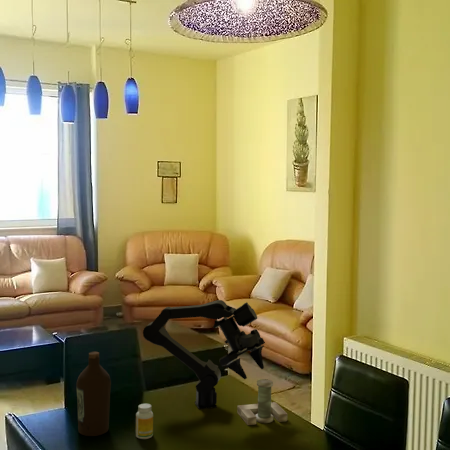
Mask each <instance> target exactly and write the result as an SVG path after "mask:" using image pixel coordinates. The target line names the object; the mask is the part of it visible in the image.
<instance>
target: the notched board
mask: <svg viewBox="0 0 450 450" xmlns="http://www.w3.org/2000/svg"><path fill="white" fill-rule="evenodd" d="M236 406H237V408H236V410H237V412H236V413H237V414H238V415H239V417H240V418H241V419H242V420H243V421H244V422H245V424H246V426H253V425H257V421H256V416H255V415H256V414H258V403H252V404H251V403H250V404H241V405H239V404H238V405H236ZM271 414H272V415H273V418H274V419H275V420H276V421H278V423H283V422H287V421H288V413H287V411H285V410H284V409H283V408H282V406H280V405H279V404H278V403H277V402H276V401H273V402H272V401H271Z"/></svg>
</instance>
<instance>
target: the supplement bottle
mask: <svg viewBox="0 0 450 450" xmlns="http://www.w3.org/2000/svg"><path fill="white" fill-rule="evenodd" d="M137 407H138V409H137V412H136V413H135V437H136V438H138V439H140V440H148V439H150V438H152V437H153V435H154V413H153V411H152V404H150V403H141V404H139V405H138V406H137Z"/></svg>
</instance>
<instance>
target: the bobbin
mask: <svg viewBox="0 0 450 450" xmlns="http://www.w3.org/2000/svg"><path fill="white" fill-rule="evenodd" d="M256 386H257V393H258V394H257V404H258V414H256V415H255V416H256V423H260V424H268V423H273V421H274V416H273V415H272V414H271V402H272V387H273V386H274V381H273V380H271V379H270V378H268V379H267V378H261V379H257V380H256Z"/></svg>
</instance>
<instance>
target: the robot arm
mask: <svg viewBox="0 0 450 450" xmlns="http://www.w3.org/2000/svg"><path fill="white" fill-rule="evenodd" d="M186 318H188V319H189V318H206V319H210V320H214V323H213V327H212V328H213V329H217V328H220V331H221V332H222V334H223V336H224V337H225V339H226V340H224V343H225V345H226V344H227V345H229V347H230V349H231V351H230V352H228V353H227V354H225V355H223V356H221V357H219V364H220V366H221V367H225V368H228V369H229V370H231V371H233V372H234V373H235V374H237V375H238V376H239V377H241V378H242V379H243V380H246V379H248V377H247V375H246V372H245V371H244V368H243V365H241V358H238V357H240V356H241V355H243V354H245V353H247V352H249V356H250V357H251V358H252V360H253V361H254V363H256V365H257V367H259V368H260V369H261V370H264V369H265V366H264V361H263V355H262V354H263V353H262V350H263V348H264V345H265V344H266V341H265V340H264V338H263V337H261V334H260V332H259V331H258V329H252V330H250V333H248V334H246V332H245V331H244V330H242V331H241V329H240V328H239V326H240V327H243V328H244V327H246V326H248V325H249V324H251V323H253V322H254V321H257V319H258V315H257V313H256V312H255V309H254V308H253V307H252V306H251V305H250V304H249V303H248V302H247V301H246V302H245V303H243V304H242V305H241V306H239V307H237V308H235V307H233V306H230V305H228V304H227V303H226V302H225V301H224V300H221V299H217V300H214V301H213V300H212V301H209V302H207V303H204V304H196V305H186V306H185V305H184V306H183V305H182V306H172V307H171V306H167V307H164V308H162V310H161V311H160V313H159V314H158V316H157V317H156V318H155V319H154V320H153V321H151V322H149V323H148V324H147V325H146V326H145V327H144V328H143V330H142V336H143V338H144V339H145V340H146V341H148V342H150V343H151V344H153V345H156V346H158V347H162V348H164V349H165V350H166V351H167V352H168V353H170V354H171V355H173V356H174V357H175V358H176V359H178V360H179V361H180V362H181V363H183V364H184V365H185V366H186V367H188V368H189V369H190V370H191V371H192V372H194V373H195V376H196V377H197V378H198V381H197V383H196V385H195V391H196V392H195V401H194V404H195V405H196V407H197V409H198V410H203V409H214V408H217V402H218V401H217V399H218V397H217V392H216V388H215V387H216V386H217V385H218V382H219V381H220V379H221V377H222V374H221V373H222V372H221V370H220V368H219V365H217V364H215V363H213V361H212V360H211V359H208V361H203V360H201V359H200V358H199V357H198V356H196V355H195V354H193V353H192V352H191V351H190V350H189V349H187V348H186V347H184V346H183V345H182V344H181V343H179V342H178V341H177V340H175V339H174V338H173V337H172V336H171V335H170V333H169V332H168V330H167V329H166V328H165V325H166V324H167V323H168V321H170V320H176V319H186Z"/></svg>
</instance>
